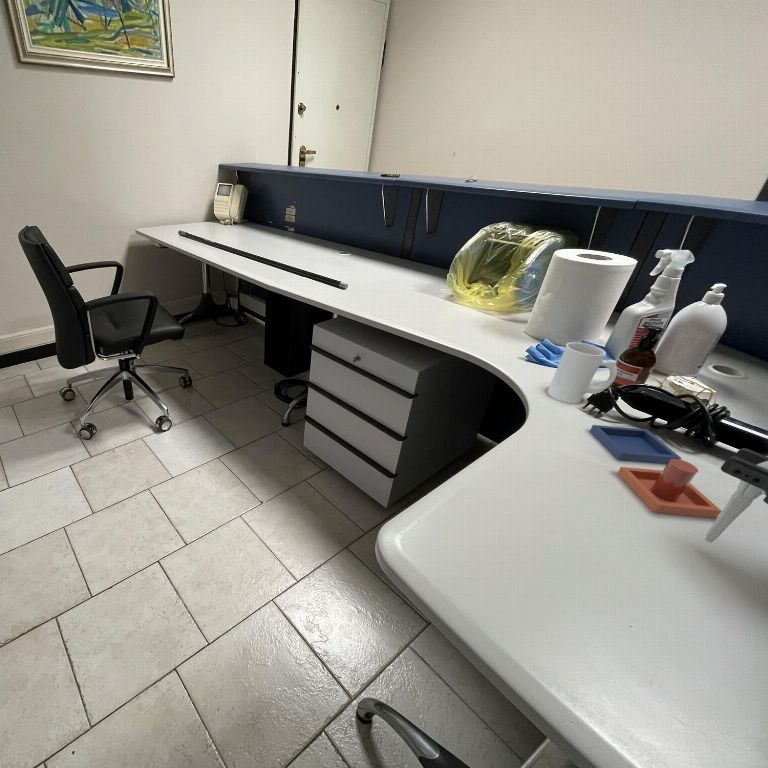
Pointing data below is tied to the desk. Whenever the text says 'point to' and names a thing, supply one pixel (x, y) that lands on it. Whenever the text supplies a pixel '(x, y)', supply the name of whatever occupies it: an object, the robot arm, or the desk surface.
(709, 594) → the desk surface
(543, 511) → the desk surface
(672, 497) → the red peg
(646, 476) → the terracotta tray
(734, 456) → the robot arm
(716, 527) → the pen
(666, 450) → the blue tray
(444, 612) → the desk surface
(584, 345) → the mug
